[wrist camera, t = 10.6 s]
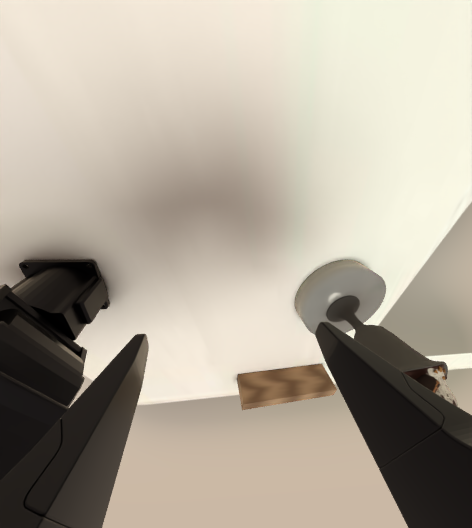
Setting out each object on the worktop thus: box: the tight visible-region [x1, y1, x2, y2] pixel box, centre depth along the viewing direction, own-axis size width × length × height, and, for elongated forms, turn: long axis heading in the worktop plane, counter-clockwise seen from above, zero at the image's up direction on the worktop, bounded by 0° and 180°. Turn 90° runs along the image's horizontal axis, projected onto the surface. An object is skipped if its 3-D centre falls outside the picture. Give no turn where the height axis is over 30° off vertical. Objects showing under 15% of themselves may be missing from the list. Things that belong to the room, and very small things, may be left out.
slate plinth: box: [295, 260, 386, 334], centre depth 27 cm, size 12×12×3 cm
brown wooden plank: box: [237, 364, 337, 410], centre depth 35 cm, size 18×2×5 cm, turn 85°
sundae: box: [326, 296, 458, 407], centre depth 19 cm, size 7×7×15 cm
